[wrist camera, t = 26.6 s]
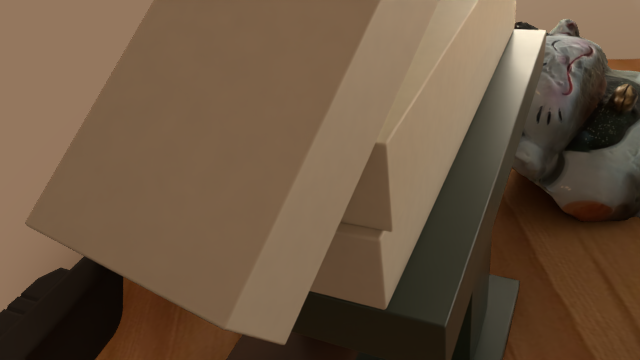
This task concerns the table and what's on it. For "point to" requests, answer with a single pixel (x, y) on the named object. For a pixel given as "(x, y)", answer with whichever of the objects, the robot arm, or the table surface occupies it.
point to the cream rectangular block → (232, 150)
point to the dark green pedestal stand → (434, 199)
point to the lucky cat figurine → (583, 130)
